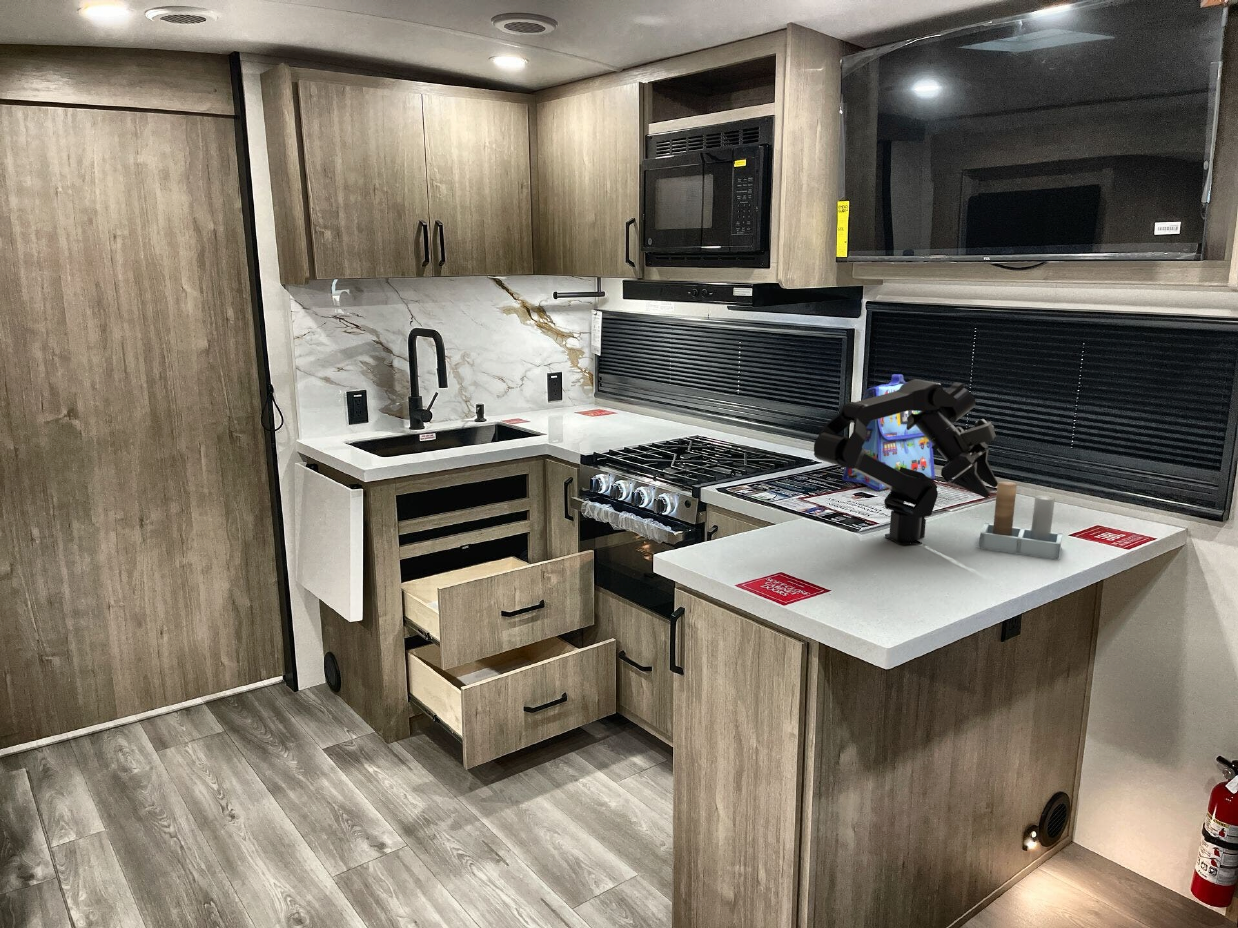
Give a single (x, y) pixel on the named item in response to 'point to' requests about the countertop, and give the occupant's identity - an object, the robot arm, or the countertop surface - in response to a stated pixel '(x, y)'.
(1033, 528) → the grey peg
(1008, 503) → the walnut peg
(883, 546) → the countertop surface
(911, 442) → the lunch bag
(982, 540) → the slot rack
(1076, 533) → the countertop surface
